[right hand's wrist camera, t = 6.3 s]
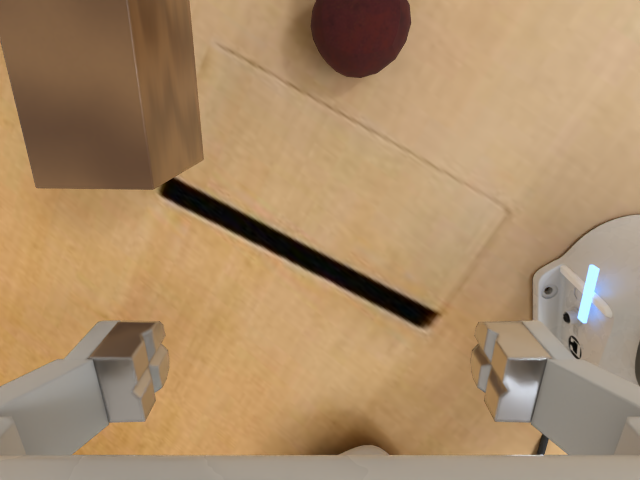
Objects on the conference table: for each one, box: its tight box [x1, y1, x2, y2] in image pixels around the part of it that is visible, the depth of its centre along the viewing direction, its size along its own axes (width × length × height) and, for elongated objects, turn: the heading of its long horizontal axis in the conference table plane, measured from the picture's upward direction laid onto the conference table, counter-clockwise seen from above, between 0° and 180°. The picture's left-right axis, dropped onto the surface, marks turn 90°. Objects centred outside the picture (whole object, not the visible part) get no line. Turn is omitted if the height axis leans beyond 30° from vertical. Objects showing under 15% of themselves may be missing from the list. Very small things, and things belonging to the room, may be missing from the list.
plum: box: [311, 0, 411, 78], centre depth 31 cm, size 7×8×7 cm
